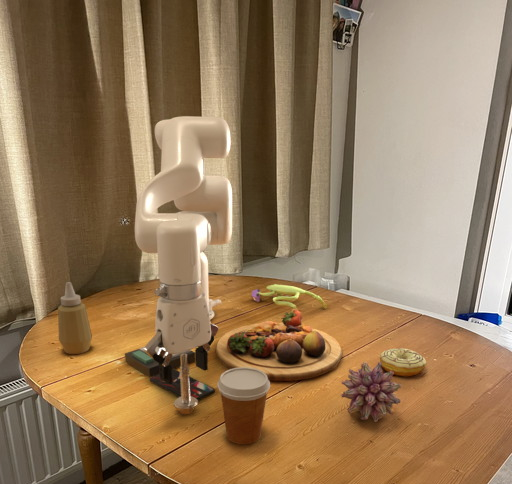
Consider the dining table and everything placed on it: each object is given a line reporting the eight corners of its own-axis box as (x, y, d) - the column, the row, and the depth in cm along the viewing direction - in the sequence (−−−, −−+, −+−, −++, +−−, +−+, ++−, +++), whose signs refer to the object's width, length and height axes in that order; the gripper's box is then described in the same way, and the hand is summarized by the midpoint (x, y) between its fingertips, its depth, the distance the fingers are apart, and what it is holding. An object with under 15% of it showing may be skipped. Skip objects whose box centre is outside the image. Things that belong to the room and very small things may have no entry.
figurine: (282, 321, 149) (283, 303, 147) (241, 296, 171) (241, 280, 169) (332, 311, 157) (334, 294, 155) (287, 288, 179) (288, 273, 177)
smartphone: (172, 368, 118) (216, 389, 108) (172, 370, 118) (216, 391, 108) (147, 378, 113) (191, 401, 103) (147, 381, 113) (191, 404, 103)
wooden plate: (262, 321, 148) (263, 295, 145) (362, 348, 131) (365, 319, 128) (189, 358, 124) (188, 327, 121) (300, 397, 107) (302, 362, 104)
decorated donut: (432, 368, 121) (434, 354, 120) (411, 383, 114) (414, 368, 112) (393, 355, 127) (394, 341, 126) (371, 368, 120) (373, 354, 119)
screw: (202, 407, 103) (191, 419, 98) (180, 403, 104) (169, 415, 100) (200, 350, 98) (189, 359, 94) (178, 346, 99) (166, 356, 95)
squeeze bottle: (83, 358, 124) (74, 288, 117) (54, 355, 125) (43, 286, 119) (99, 345, 131) (92, 279, 124) (71, 342, 133) (62, 277, 126)
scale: (169, 347, 130) (169, 336, 129) (195, 361, 123) (195, 349, 122) (125, 362, 122) (124, 350, 121) (149, 377, 114) (148, 365, 113)
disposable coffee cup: (217, 421, 98) (216, 366, 93) (266, 420, 98) (267, 365, 94) (218, 451, 89) (217, 391, 84) (271, 449, 90) (273, 390, 85)
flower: (381, 407, 107) (414, 426, 95) (329, 413, 103) (357, 433, 92) (383, 354, 105) (416, 367, 93) (330, 358, 101) (359, 372, 90)
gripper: (151, 304, 84) (157, 397, 90) (230, 284, 95) (230, 368, 101) (128, 294, 89) (135, 382, 95) (205, 276, 100) (207, 356, 106)
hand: (184, 374), depth 98 cm, fingers open, 7 cm apart
